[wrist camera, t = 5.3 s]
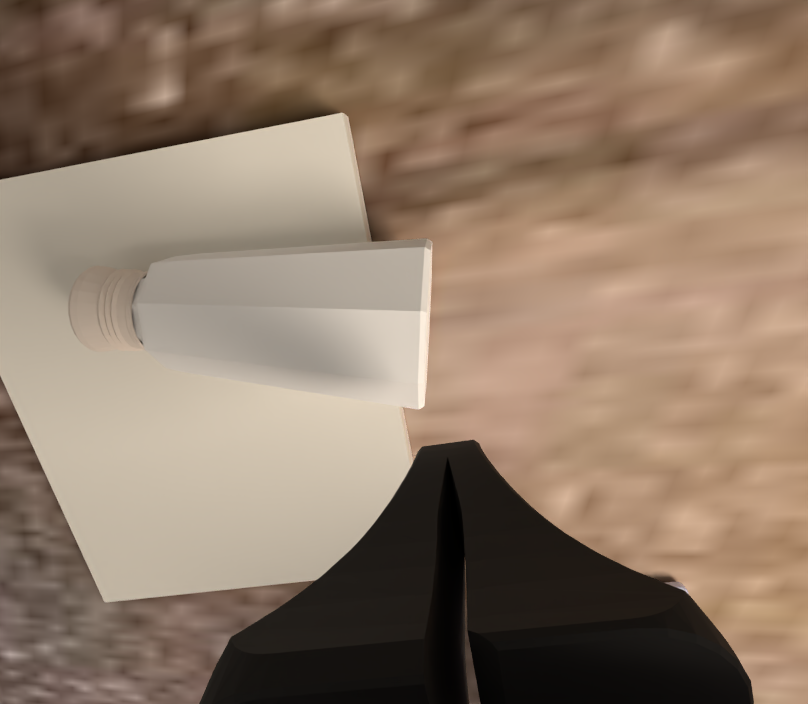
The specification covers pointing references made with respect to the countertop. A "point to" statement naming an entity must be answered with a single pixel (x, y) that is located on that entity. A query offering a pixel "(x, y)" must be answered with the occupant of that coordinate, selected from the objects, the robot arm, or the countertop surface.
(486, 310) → the countertop surface
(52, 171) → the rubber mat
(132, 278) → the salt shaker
